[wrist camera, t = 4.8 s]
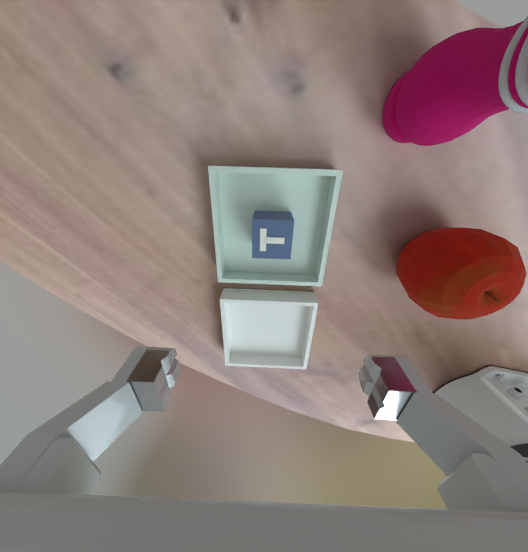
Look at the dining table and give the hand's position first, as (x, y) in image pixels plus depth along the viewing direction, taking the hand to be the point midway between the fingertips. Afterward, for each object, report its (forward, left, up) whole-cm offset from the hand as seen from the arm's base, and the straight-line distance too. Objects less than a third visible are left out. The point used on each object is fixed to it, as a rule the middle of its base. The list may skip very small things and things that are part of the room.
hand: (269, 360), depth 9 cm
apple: (-21, +3, -22) cm, 31 cm away
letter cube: (0, 0, -21) cm, 21 cm away
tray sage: (0, 0, -22) cm, 22 cm away
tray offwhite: (0, +17, -22) cm, 28 cm away
